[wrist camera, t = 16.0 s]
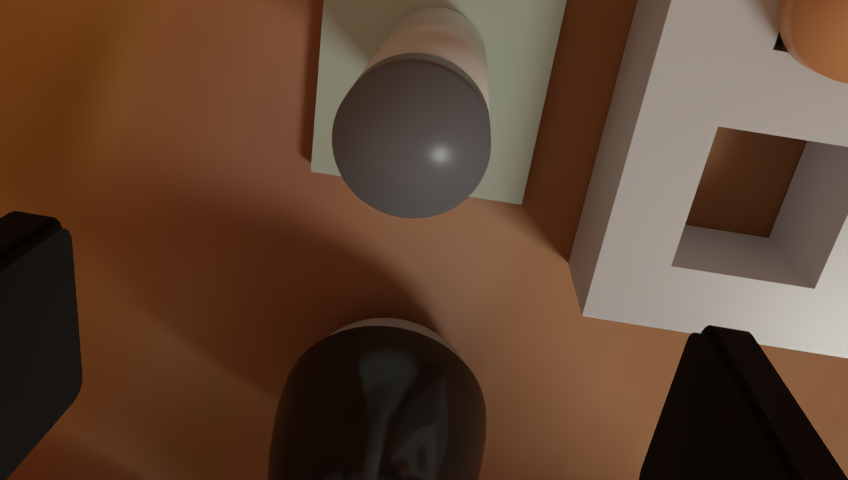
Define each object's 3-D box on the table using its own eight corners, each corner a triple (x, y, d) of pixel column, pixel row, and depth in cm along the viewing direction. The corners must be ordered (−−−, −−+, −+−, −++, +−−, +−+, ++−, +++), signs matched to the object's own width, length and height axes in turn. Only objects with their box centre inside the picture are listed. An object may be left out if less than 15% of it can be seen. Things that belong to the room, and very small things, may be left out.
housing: (806, 301, 34) (856, 359, 30) (568, 263, 34) (581, 315, 30) (983, -98, 27) (1087, -101, 22) (675, -147, 27) (716, -159, 22)
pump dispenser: (338, 255, 35) (249, 473, 21) (519, 336, 37) (545, 591, 23) (270, 398, 39) (159, 657, 26) (434, 466, 41) (413, 747, 27)
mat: (520, 198, 33) (521, 204, 32) (314, 165, 33) (310, 171, 32) (580, -74, 28) (583, -74, 27) (335, -113, 28) (332, -114, 27)
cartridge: (477, 117, 31) (476, 228, 20) (379, 102, 31) (325, 205, 20) (495, 15, 29) (505, 77, 18) (391, -1, 29) (338, 51, 18)
